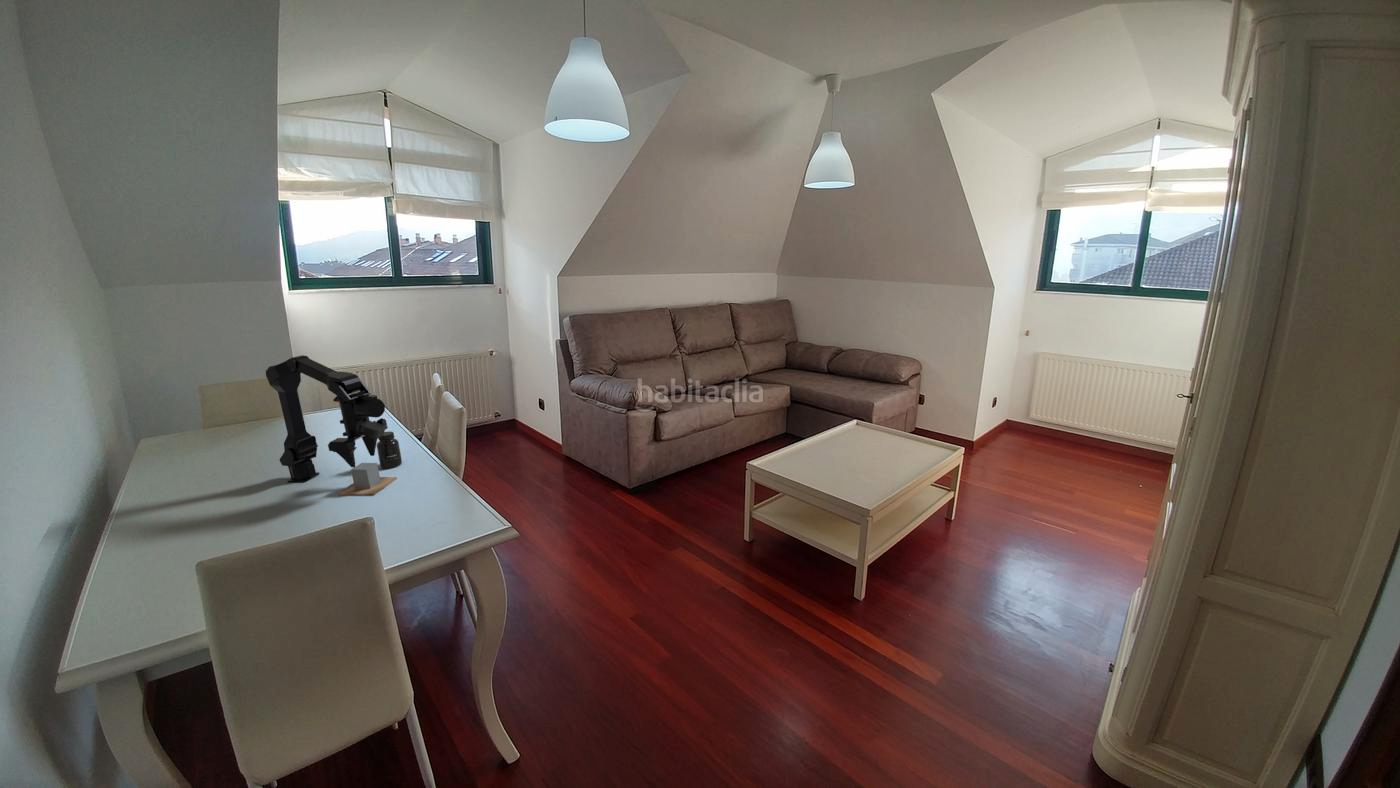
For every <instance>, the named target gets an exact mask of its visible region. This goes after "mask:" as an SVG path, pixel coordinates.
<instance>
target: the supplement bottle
mask: <svg viewBox="0 0 1400 788" xmlns="http://www.w3.org/2000/svg"><path fill="white" fill-rule="evenodd" d="M377 440H378V442H377V443H376V451H377V457H378V460H379V461H378V462H379V465H380V468H381V469H385V470H387V469H393V468H398V467H400V466H401V465H402V464H403V461H402V460H403V459H402V453H401V448H400V443H399V440H398V439H396V438H395V433H394V431H385V432H384V435H383V436H380V437H379V438H378V439H377Z"/></svg>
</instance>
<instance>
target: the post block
mask: <svg viewBox="0 0 1400 788" xmlns="http://www.w3.org/2000/svg"><path fill="white" fill-rule="evenodd" d="M380 480H381V482H379V483H378V484H377V485H375V486H374V487H372V488H371V489H355V486H354V482H352V483H351V484H350V485H348V486H346V487H345V488H343V489H342V490H340V491H339V492H336V493H337V496H375V495H377V494H378V493H380V492H381V491H382V490H384V489H385V488H386V487H388V486H389V485H390V484H392V483H393V482H394V483H395V481H396V480H398V477H397V476H380Z"/></svg>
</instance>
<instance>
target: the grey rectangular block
mask: <svg viewBox="0 0 1400 788" xmlns="http://www.w3.org/2000/svg"><path fill="white" fill-rule="evenodd" d="M350 473H351V477H352V481H353V482H352V483H354V486H355V489H371V488H372V487H374V486H375V485H377V484H378V483H379V482H381V480H380V477H381V475H380V471H379V467H378V463H377V462H360V463H359V464H358V465H355V467H351V469H350Z"/></svg>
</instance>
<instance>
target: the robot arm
mask: <svg viewBox="0 0 1400 788" xmlns="http://www.w3.org/2000/svg"><path fill="white" fill-rule="evenodd" d="M301 374H303V375H305V376H307V377H309V378H311V379H314V380H315V381H318V382H320V383H322V384H325V386H326V387H327V390H328V391H329V392H331V393H332V394H334V395H335V397H334V398H333V402H335V403H337V402H338V404H339V408H340V413H341V418H342V419H340V420H339V424H340V425H343V426H344V430H345V431H344V432H342V436H343V437H337V438H335V439H333V440H331V441H329V443H328V444H327V447H328V451H329V452H333V453H337V455H339V457H341V458H342V459H343V460H344V461H345V462H346V463H347V464H348V466H350V467H351V468H354V467H356V458H355V451H356V450H357V448H358V447H357V446H356V441H357V440H359V439H362V441H363V444H364V446H365V447H366V450H367V452H368V454H369V455H370V456H371V457H374V456H375V452H376V450H377V443H378V442H377V441H378V440H379V439H378V438H379V437H380V436H383V435H384V432H386V430H388V428H389V427H388V423H387V420H386V419H385V418H382V417H381V416H383V415H384V413H385V411H386V410H385V409H386V405H385V403H384V402H383V400H382V399H379V398H378V396H377V394H372V392H371V390H370V389H369V388H368V387H367V385H366V384H365V383H364V382H363V381H362V379H361V378H360V377H359V376H358V375H357V374H355V373H352V372H348V371H337V370H334V369H332V368H331V367H328V366H325V365H324V364H322V363H320V362H317V361H315V360H313V359H312V358H309V356H307V355H304V354H303V355H302V354H301V355H298V356H293V357H289V358H288V359H286V360H285V361H283V362H281V363H278V364H275V365H270V366H268V367H267V369H265V377H266V378H267V381H268V384H269V386H271V388H273V389H274V390H275V391H276V392H277V394H278V398H279V402H280V406H281V411H282V416H283V419H284V423H285V429H286V432H287V433H286V434H287V435H286V438H285V440H284V442H283V448H284V449H283V450H284V451H283V453H282V455H281V457H280V458H279V462H280V464H281V465H282V466H283V467H287V468H288V472H289V475H290V478H289V479H288V480H287V483H292V482H293V483H306V482H308V481H309V480H311V479H313V478H315V477H317V476H319V475H320V472H316V468H315V464H314V462H313V460H312V459H315V458H317V451H318V447H319V445H318V443H317V437H316V436H315V435H311V434H310V433H309V432H308V431H307V429H306V428H307V427H306V424H305V423H306V422H305V419H304V415H303V410H302V405H301V401H300V396H299V392H298V389H299V387H300V383H301V382H302V376H301ZM370 418H379V419H377V420H373V421H372V420H371V419H370Z"/></svg>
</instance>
